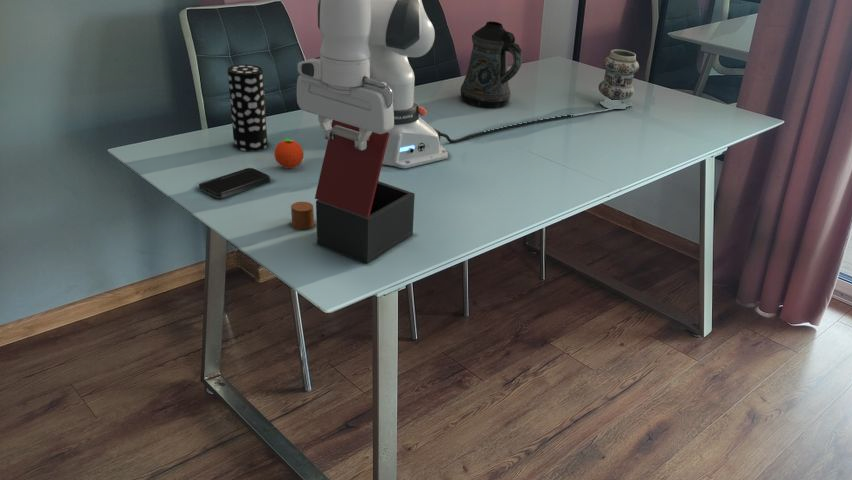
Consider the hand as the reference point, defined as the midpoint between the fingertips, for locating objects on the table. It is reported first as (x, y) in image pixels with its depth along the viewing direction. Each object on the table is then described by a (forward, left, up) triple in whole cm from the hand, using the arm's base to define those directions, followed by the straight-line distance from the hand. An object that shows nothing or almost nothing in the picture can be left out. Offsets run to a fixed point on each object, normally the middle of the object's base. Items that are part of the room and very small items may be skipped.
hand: (344, 143), depth 144 cm
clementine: (-3, -45, -24) cm, 51 cm away
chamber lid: (-2, -1, -5) cm, 6 cm away
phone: (+12, -38, -24) cm, 47 cm away
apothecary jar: (-121, -63, -24) cm, 138 cm away
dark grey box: (-6, -3, -24) cm, 25 cm away
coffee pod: (+4, -14, -24) cm, 28 cm away
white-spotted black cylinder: (+2, -61, -24) cm, 66 cm away
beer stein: (-80, -77, -24) cm, 114 cm away
